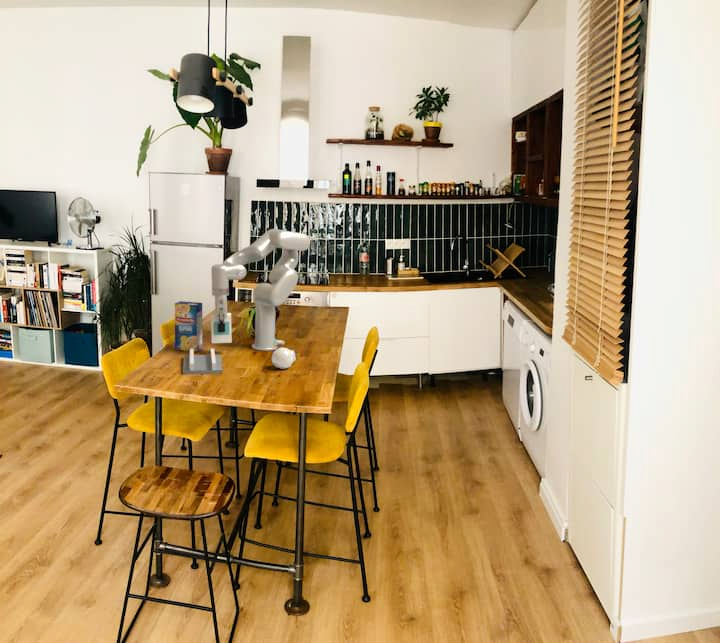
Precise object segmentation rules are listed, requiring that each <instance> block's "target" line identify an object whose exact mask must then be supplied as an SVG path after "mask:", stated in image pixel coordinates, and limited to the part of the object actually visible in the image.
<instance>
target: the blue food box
mask: <svg viewBox="0 0 720 643" xmlns="http://www.w3.org/2000/svg"><path fill="white" fill-rule="evenodd" d="M176 349H177V350H179V351H188V350H189V352H190V349H194V352H198V351H200V350H202V349H203V302H197V301H196V302H194V301H183V300H180V301H178V302H175V303H174V350H176Z"/></svg>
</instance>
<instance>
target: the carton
mask: <svg viewBox="0 0 720 643" xmlns="http://www.w3.org/2000/svg"><path fill="white" fill-rule="evenodd" d="M219 317H220V316H219ZM219 319H220V318H219ZM224 323H225V332H218V317H217V315H216V312H215V313H214V312H212V313H210V330H211V331H210V332H211V333H210V334H211V344H229V343H230V344H231V343H232V340H233V339H232V338H233V337H232V335H233V334H232V333H233V332H232V313H231V312H227V317H226V316H224Z"/></svg>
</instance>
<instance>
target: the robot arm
mask: <svg viewBox="0 0 720 643" xmlns="http://www.w3.org/2000/svg"><path fill="white" fill-rule="evenodd" d="M310 245H311V238H310V237H309V235H307V234H306V233H303V232H302V233H301V232H296V231H289V230H284V229H278V228H271V229H269V230H267V231H265V233H263V234H262V235H261V236H260V237H258V239H256V240H255V241H254V242H253V243H251V244H250V245H248V246H246V247H244V248H242V249H240V250H237V252H234V253H233V254H232V255H230V256H229V257H227V258H226V259H225V260H224V261H222V264H221V263H219V264H214V265H212V266H211V295H212V296H214V305H215V306H214V307H215V313H216V315H217V317H218V332H225V323H224V316H226V317H227V313H228V297H227V296H229V295H230V288H229V287H230V286H229V285H230V284H229V281H240V280H242V279H244V278H245V277H246V276H247V269H246V267H245V265H247V264H251V263H256V262H259V261H262V260H264V259H265V258H266V257H267V256H268V255H269V254H270V253H272V251H274V250H275V249H276V248H278V249H282V253H281V256H280V258H279V259H278V260H277V262H276V263H275V265H274V267H273V268H272V269H271V271H270V272H269V274H268V280H269V282H270V283H267V282H262V283H259V284H257V285H256V286H255V288H254V290H253V300H254V306H255V308H254V309H255V321H254V322H255V323H254V324H255V325H254V326H255V327H254V334H255V335H254V343H253V344H251V348H252V349H253V350H256V351H266V352H268V351H275V350H277V349H278V348H279V345H285V340H282V339H276V307H279V306H281V305H283V303H285V302H286V300H288V298H289V296H290V295H291V293H292V292H293V291H294V289H295V288H296V286H297V285H298V282H299V275H298V272H297V271H296V270H295V268H296V267H297V266H298V263H299V252H304V251H307V250H308V248H309V247H310ZM298 251H299V252H298ZM271 283H272V284H271ZM219 316H220V317H219ZM219 318H220V319H219Z"/></svg>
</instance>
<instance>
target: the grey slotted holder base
mask: <svg viewBox="0 0 720 643" xmlns="http://www.w3.org/2000/svg"><path fill="white" fill-rule="evenodd" d="M194 353H195V351H194V349H190V351H189V354H188V355H183V365H182V366H183V368H182V372H183V375H208V374H209V375H210V374H211V375H213V374H216V373H218V374H219V373H222V374H223V371H224V370H223V364H222V358H221V354H215V348H210V354H199V355H198V354H194Z"/></svg>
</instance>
